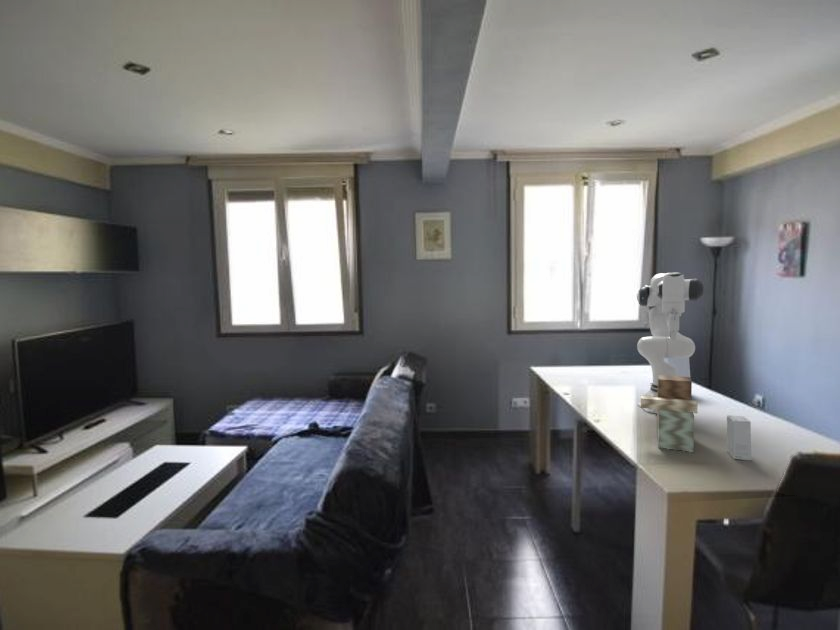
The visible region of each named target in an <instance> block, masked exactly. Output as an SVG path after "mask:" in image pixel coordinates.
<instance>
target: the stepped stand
mask: <svg viewBox="0 0 840 630" xmlns="http://www.w3.org/2000/svg"><path fill="white" fill-rule="evenodd" d="M692 387H693V385H692V379H691V376H690V377H681V376H665V375H658V392H657V397H658V398H670V399H682V400H692V389H693V388H692ZM694 429H695V413H690V412H679V411H669V410H658V409H657V415H656V436H657V445H658V446H657V447H658V448H659V447H660V448H659V449H662V448H667V449H666V450H669V449H675V450H674V451H677V450H682V451H681V452H685V451H689V452H688V453H692V452H693V453H694V446H695V445H694V441H695V440H694V439H695V438H694V437H695V436H694V435H695V431H694Z"/></svg>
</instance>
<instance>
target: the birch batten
mask: <svg viewBox="0 0 840 630" xmlns="http://www.w3.org/2000/svg"><path fill="white" fill-rule="evenodd" d="M640 402H641V407H640V408H641V409H642V408H648V409H658V410H669V411H679V412H690V413H693V414H698V408H699V407H698V401H697V400H692V399H691V400H682V399H670V398H658V397H646V396H643V395H641V396H640Z"/></svg>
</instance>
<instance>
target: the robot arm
mask: <svg viewBox="0 0 840 630" xmlns="http://www.w3.org/2000/svg"><path fill="white" fill-rule="evenodd" d="M649 284H650V285H647V284H645V285H644V286H643V287H641V288H640V289H639V290H638V292H637V294H636V300H637V302H638V304H639V305H640V306H642V307H652V308H651V309H650V311H649V314H648V315H649V317H648V319H649V321H648V322H649V330H650V333H651V335H649V336H643V337H641V338H639V340H638V342H637V345H636V349H637V351H638V353H639V354H640V355H641V356H642V357H644V359H645V360H647V361H648V363H649V365H650V367H651V371H652V382H651V383H649V384H650V389H648V391H646V392H645V393H644V394H643V395H642V396H646V397H657V392H658V375H665V376H677V375H678V372H677V370H676V368H674V367H673V366H671V365H669V364H667V363H665V362H664V358H686V357H689V358H690V357H692V356H693V354H695V351H696V344H695V343H694V341H693V339H691V338H690V337H687V336H685V335H684V334H682V333H680V332H679V331H680V317H682V314H683V313H685V306H686V302H685V301H694V302H695V301H696V302H697V301H698V300H699V299H700V298H702V297H703V294H704V290H705V289H704V284H703V282H702V281H701V280H700V279H698V278H690V279H689V278H688V279H685V275H684V273H682V272H677V271H670V272H666V273H665V272H664V273H663V272H661V273H660V272H659V273H657V274H654V276H653V277H652V278H651V279H650V282H649ZM636 404H637V406H639V407H640V408H641V401H639V402H637V403H636ZM641 409H642V410H643V411H645V412H646V413H651V414H657V409H648V408H641Z"/></svg>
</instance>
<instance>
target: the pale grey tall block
mask: <svg viewBox="0 0 840 630" xmlns="http://www.w3.org/2000/svg"><path fill="white" fill-rule="evenodd" d="M664 362H665V363H667V364H669V365H671V366H673V367H674V368H676V370H677V372H678V375H677V376H681V377H690V378H691V367H690V357H686V358H664Z"/></svg>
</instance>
